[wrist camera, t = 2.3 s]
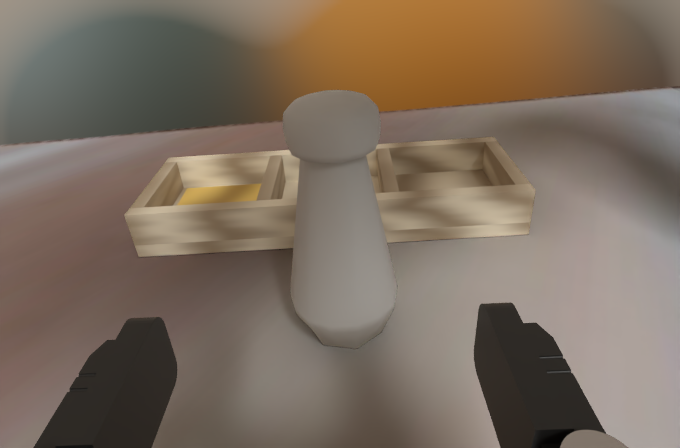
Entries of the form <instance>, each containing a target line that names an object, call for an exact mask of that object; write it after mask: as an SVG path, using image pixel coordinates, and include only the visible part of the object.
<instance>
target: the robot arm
mask: <svg viewBox="0 0 680 448" xmlns="http://www.w3.org/2000/svg"><path fill="white" fill-rule="evenodd" d="M474 361H475V368H476V372H477V376H478V379H479V382H480V385H481V388H482V391H483V394H484V397H485V400H486V404H487V407H488V410H489V413H490V416H491V419H492V422H493V425H494V428H495V431H496V434H497V438H498V441H499V444H500V447H501V448H628V447H627V446H625V445H624V444H623V443H622V442H620V441H619V440H617V439H615V438H614V437H612V436H610V435H607V434H606V432H605V431H604V429H603V428H602V426H601V424H600V422H599V420H598V418H597V417H596V415H595V413H594V411H593V409H592V408H591V406H590V404H589V402H588V400H587V398H586V397H585V395H584V393H583V391H582V389H581V388H580V386H579V384H578V382H577V380H576V378H575V377H574V375H573V373H571V369H570V368H569V366H568V364H567V362H566V360H565V359H563V355H562V353H561V351H560V349H559V347H558V346H557V344H556V342H555V340H554V338H553V337H552V336H551V335H550V334H548V333H547V332H546V331H545V330H544V329H543V328H542V327H540V326H539V325H538V324H537V323H523V322H522V320H521V318H520V316H519V314H518V312H517V310H516V308H515V306H514V305H513V304H512V303H491V304H481V305H480V307H479V311H478V320H477V328H476V336H475V345H474ZM176 378H177V362H176V358H175V355H174V352H173V348H172V345H171V342H170V339H169V336H168V333H167V330H166V327H165V324H164V321H163V320H162V318H160V317H152V318H131V319H128V320H127V321H126V323H125V324H124V326H123V328H122V329H121V331H120V333H119V335H118V336H117V338H116V340H107V341H106V342H105V343H103V344H102V345H101V346H100V347H99V348H98V349H97V350H96V351H95V352H93V353H92V354H91V355H90V356H89V358H88V359H87V361H86V363H85V364H84V366H83V368H82V369H81V371H80V372H79V377H76V379H75V381H74V382H73V384H72V386H71V387H70V392H67V394H66V395H65V397H64V399H63V400H62V402H61V404H60V405H59V407H58V408H57V410H56V412H55V413H54V415H53V417H52V418H51V420H50V422H49V423H48V425H47V426H46V428H45V430H44V431H43V433H42V435H41V436H40V438H39V440H38V441H37V443H36V444H35V446H34V448H151V447H152V445H153V442H154V439H155V437H156V434H157V431H158V429H159V426H160V423H161V421H162V418H163V415H164V413H165V410H166V407H167V405H168V402H169V399H170V397H171V394H172V391H173V389H174V386H175V383H176Z"/></svg>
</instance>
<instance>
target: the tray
mask: <svg viewBox="0 0 680 448" xmlns="http://www.w3.org/2000/svg"><path fill="white" fill-rule="evenodd" d="M366 156H367V161H368V165H369V169H370V174H371V178H372V182H373V186H374V190H375V194H376V198H377V202H378V207H379V211H380V215H381V219H382V223H383V227H384V231H385V235H386V240H387V243H390V242H407V241H424V240H441V239H459V238H476V237H493V236H510V235H527V234H529V228H530V222H531V216H532V210H533V204H534V198H535V191H536V190H535V189H534V188H533V186H532V185H531V184H530V182H529V181H528V180H527V179H526V177H525V176H524V175H523V174H522V172H521V171H520V170H519V168H518V167H517V166H516V165H515V163H514V162H513V161H512V160H511V158H510V157H509V156H508V154H507V153H506V152H505V151H504V149H503V148H502V147H501V146H500V144H499V143H498V142H497V140H496V139H495V138H494V137H483V138H467V139H452V140H437V141H421V142H406V143H390V144H377V146H376V149H375V150H374V151H372V152H371V153H369V154H367V155H366ZM299 165H300V159H299V158H297V157H295V156H293V155H292V154H291V152H290V150H282V151H267V152H252V153H236V154H221V155H205V156H190V157H174V158H168V160H167V161H166V162H165V163H164V165H163V166H162V167H161V169H160V170H159V171H158V172H157V174H156V175H155V176H154V178H153V179H152V180H151V182H150V183H149V184H148V185H147V187H146V188H145V189H144V191H143V192H142V193H141V194H140V196H139V197H138V198H137V200H136V201H135V202H134V204H133V205H132V206H131V207H130V209H129V210H128V211H127V213H126V214H125V215H124V216H125V219H126V222H127V225H128V228H129V230H130V233H131V236H132V239H133V242H134V245H135V248H136V250H137V253H138V256H139V257H149V256H166V255H183V254H201V253H218V252H235V251H252V250H269V249H287V248H293V246H294V233H295V219H296V205H297V192H298V178H299Z"/></svg>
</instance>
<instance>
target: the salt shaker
mask: <svg viewBox="0 0 680 448" xmlns="http://www.w3.org/2000/svg"><path fill="white" fill-rule="evenodd" d="M380 126H381V120H380V116H379V111H378V107H377V105H376V104H374V102H373V101H372V100H370V99H369V98H368V97H367V96H366V95H365V94H362V93H358V92H354V91H346V90H329V91H321V92H317V93H312V94H308V95H305V96H303V97H300V98H298V99H296V100H295V101H293V102H292V103H291V104H290V106H289V107H288V108H287V109H286V110H285V112H284V113H283V131H284V136H285V141H286V144H287V146H288V148H289V150H290V152H291V154H292V155H293V156H295V157H297V158H299V159H300V165H299V178H298V192H297V205H296V219H295V233H294V246H293V260H292V273H291V287H290V293H291V297H292V301H293V305H294V308H295V311H296V314H297V315H298V316H299V317H300V318H301V319H302V320H303V321H304V322H305V323H306V324H307V325H308V326H309V327H310V328H311V329H312V330H313V331H314V333H315V334H316V335H317V337H318V338H319V339H320V341H321V342H322V344H323V345H327V346H335V347H344V348H352V349H357V348H359V347H360V346H362V345H363V344H365V343H366V342H368V341H369V340H371V339H372V338H374V337H375V336H377V335H378V334H380V333H381V332H382V330H383V329H384V327H385V325H386V323H387V321H388V319H389V317H390V315H391V313H392V312H393V310H394V305H395V300H396V294H397V288H398V285H397V281H396V277H395V273H394V269H393V264H392V260H391V256H390V252H389V248H388V244H387V240H386V235H385V231H384V227H383V223H382V219H381V215H380V211H379V207H378V202H377V198H376V194H375V190H374V186H373V182H372V178H371V174H370V169H369V165H368V161H367V156H366V155H367V154H369V153H371V152H372V151H374V150H375V149H376V146H377V144H378V141H379V138H380Z"/></svg>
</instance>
